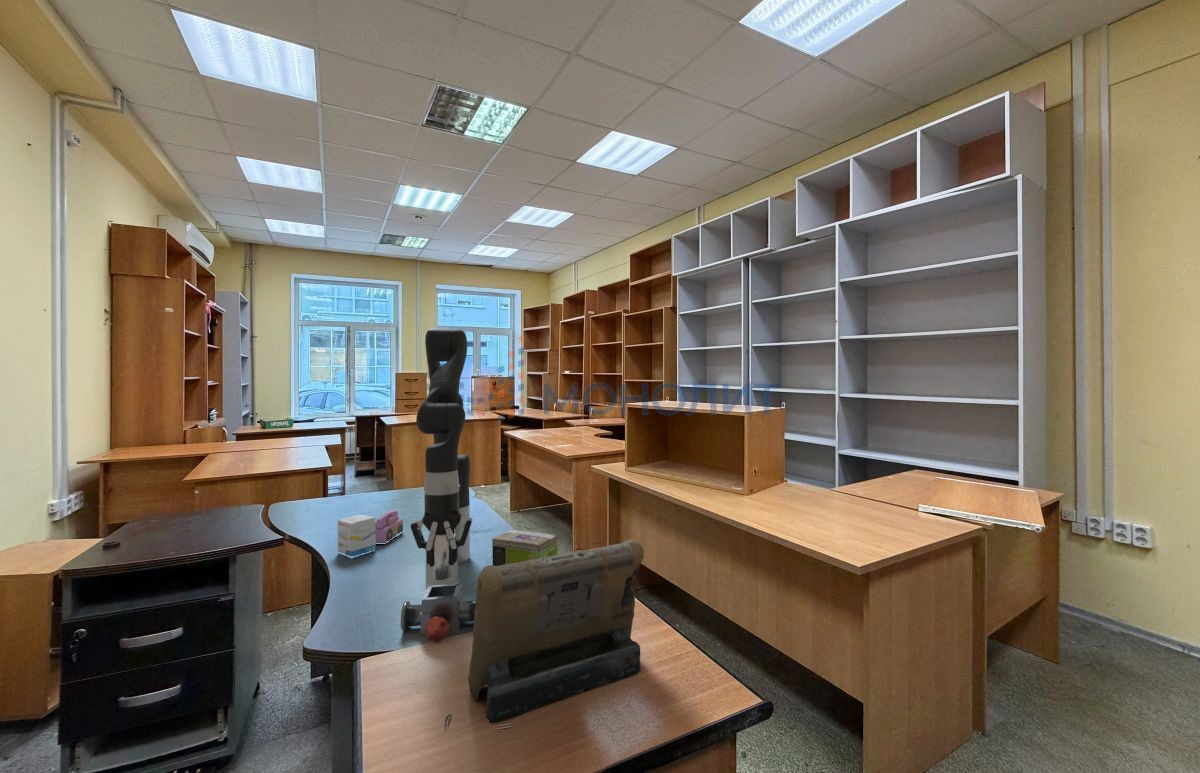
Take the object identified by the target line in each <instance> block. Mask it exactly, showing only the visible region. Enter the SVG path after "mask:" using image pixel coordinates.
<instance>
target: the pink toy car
mask: <svg viewBox="0 0 1200 773" xmlns="http://www.w3.org/2000/svg"><path fill="white" fill-rule="evenodd" d="M375 529H376V543H386V542H387V541H389V540H390V539H392V538H393V537H395V536H396V535H397V534H399V533H400V532H402V531H403V532H404V519H400V517H399V513H398V511H397V510H390V511H389V510H388V511H387V512H385V513H383V514H381V516H380V517H378V518H377V520H375Z"/></svg>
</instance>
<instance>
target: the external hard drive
mask: <svg viewBox="0 0 1200 773" xmlns="http://www.w3.org/2000/svg"><path fill="white" fill-rule="evenodd" d="M424 552H425V559H424V560H425V591H426V590H427V587H428V586H431V585H445V584H459V578H458V577H459V574H458V571H459V565H458V559H457V561H456V562H455V563H454V565H451V568H452V576H451V577H450V578H448V579H444V580H435V579H433V567H430V564H427V551H426V550H425V549H424Z"/></svg>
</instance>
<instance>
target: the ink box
mask: <svg viewBox="0 0 1200 773" xmlns="http://www.w3.org/2000/svg"><path fill="white" fill-rule="evenodd" d="M375 523H376V517H375V516H370V515H365V514H363V513H361V514H356V515H351V516H347V517H344V518H341V519H337V553H338V552H341V553H344V554H346V555H349V556H356V555H359V554H362V553H366V552H369V551H373V550H375V549H376V550H377V545H376V529H375Z"/></svg>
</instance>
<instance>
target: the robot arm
mask: <svg viewBox="0 0 1200 773" xmlns="http://www.w3.org/2000/svg"><path fill="white" fill-rule="evenodd" d="M424 338H425V339H424V341H425V353H426V354H425V355H426V361H427V367H428V368H427V369H428V376H429V386H428V387H429V388H428V394H427V396H426V397H425V399H424V400H423V402H422V403H421V405H420V406H419V407H418V408H419V409H418V411H417V413H416V419H415V421H416V422H415V423H416V426H417V428H418V430H419V431H420V432H421V433H422V434H424V435H433V444H431V445H429V446H427V448H426V449H425V455H424V456H425V475H424V481H423V482H424V486H423V491H424V494H423V495H424V514H423V517H422V518H421V519H419V520H413V522H411V524H410V529H411V532H412V536H413V537H414V540H415V543H416V546H417V548H418V549H424V551H425V550H426V551H427V564H430V567H433V541H434V536H435V535H436V534H447V536H448V540H449V542H450V545H451V549H450V565H454V563H455V562H456V561H457V559H458V564H463V563H465V562H467V561H469V560H470V559H469V558H470V557H471V552H470V551H471V547H470V546H471V527H472V523H473V518H472V517H470V504H471V503H470V502H471V501H470V480H471V479H470V478H471V475H470V474H471V460H470V459H471V458H470V457H469V456H468V455H467V454H459V443H460V439H461V437H462V436H461V435H462V431H463V430H464V426H465V421H466V412H465V409H464V401H463V398H462V396H461V395H460V382H461V377H462V373H463V370H464V367H465V363H466V359H467V354H468V338H467V335H466V332H465V331H464V330H462V329H459V328H429V329H428V330H427V331H426V334H425V337H424ZM442 362H445V363H443V364H441V363H442ZM423 525H424V526H425V527H426V529H427V530H428V532H429V534H428V538H427V540H426V539H425V537H424V535H423V532H422V529H423ZM468 559H469V560H468Z"/></svg>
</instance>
